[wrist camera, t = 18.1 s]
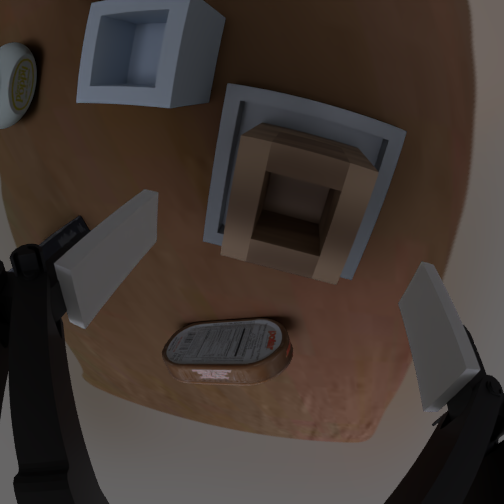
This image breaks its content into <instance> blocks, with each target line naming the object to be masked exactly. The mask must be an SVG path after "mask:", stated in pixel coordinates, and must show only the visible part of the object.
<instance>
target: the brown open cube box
mask: <svg viewBox="0 0 504 504" xmlns="http://www.w3.org/2000/svg"><path fill="white" fill-rule="evenodd" d="M378 174H379V172H378V171H377V169H376V168H375V167H374V166H373V165H372V163H371V162H370V161H369V160H368V159H367V158H366V156H365V155H364V154H363V153H362V152H361V151H360V150H359V148H357V147H354V146H351V145H347V144H344V143H341V142H337V141H334V140H331V139H327V138H324V137H320V136H316V135H313V134H309V133H305V132H301V131H297V130H293V129H289V128H285V127H281V126H276V125H272V124H267V123H263V122H262V123H260V124H259V125H257V126H255V127H254V128H252V129H250V130H249V131H247V132H245V133H244V134H242V135H241V138H240V143H239V149H238V154H237V160H236V165H235V171H234V176H233V182H232V188H231V193H230V199H229V205H228V211H227V217H226V223H225V229H224V235H223V241H222V248H221V254H220V255H223V256H227V257H231V258H235V259H238V260H242V261H246V262H250V263H253V264H257V265H261V266H265V267H269V268H273V269H276V270H280V271H284V272H288V273H292V274H296V275H300V276H303V277H307V278H311V279H315V280H319V281H323V282H327V283H331V284H335V285H336V284H337V282H338V280H339V277H340V275H341V273H342V270H343V268H344V265H345V263H346V261H347V258H348V256H349V253H350V251H351V248H352V246H353V243H354V240H355V238H356V235H357V233H358V230H359V227H360V225H361V222H362V219H363V217H364V214H365V211H366V208H367V206H368V203H369V200H370V197H371V194H372V191H373V189H374V186H375V183H376V180H377V177H378Z"/></svg>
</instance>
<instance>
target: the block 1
mask: <svg viewBox="0 0 504 504" xmlns="http://www.w3.org/2000/svg"><path fill="white" fill-rule="evenodd" d="M225 20H226V18H225V17H224V16H222V15H221V14H220V13H219V12H218V11H216V10H215V9H214V8H212V7H211V6H210V5H209V4H207V3H206V2H205V1H203V0H105V1H100V2H95V3H92V4H91V8H90V12H89V17H88V21H87V26H86V31H85V37H84V43H83V49H82V55H81V62H80V70H79V78H78V88H77V100H76V103H108V104H127V105H140V106H152V107H162V108H175V107H181V106H188V105H195V104H202V103H209V100H210V94H211V88H212V83H213V78H214V72H215V67H216V62H217V57H218V52H219V47H220V42H221V38H222V33H223V29H224V24H225Z"/></svg>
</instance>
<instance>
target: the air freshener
mask: <svg viewBox="0 0 504 504" xmlns="http://www.w3.org/2000/svg"><path fill="white" fill-rule="evenodd" d="M36 79H37V69H36V63H35V59H34V57H33V54H32V53H31V51H30V50H29V49H28V48H27V47H26V46H25V45H23V44H21V43H16V42H12V43H8V44H5V45H3V46H1V47H0V129H4V128H8V127H10V126H12V125H14V124H15V123H16V122H18V121H19V120H20V119H21V118H22V116H23V115H24V114H25V112H26V111H27V109H28V107H29V105H30V103H31V101H32V98H33V95H34V91H35V87H36Z"/></svg>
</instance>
